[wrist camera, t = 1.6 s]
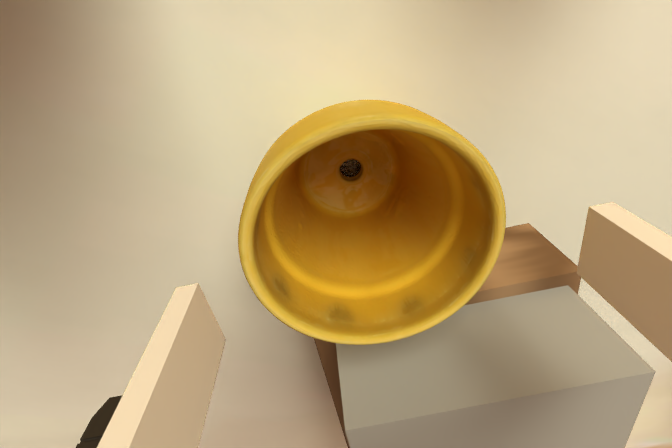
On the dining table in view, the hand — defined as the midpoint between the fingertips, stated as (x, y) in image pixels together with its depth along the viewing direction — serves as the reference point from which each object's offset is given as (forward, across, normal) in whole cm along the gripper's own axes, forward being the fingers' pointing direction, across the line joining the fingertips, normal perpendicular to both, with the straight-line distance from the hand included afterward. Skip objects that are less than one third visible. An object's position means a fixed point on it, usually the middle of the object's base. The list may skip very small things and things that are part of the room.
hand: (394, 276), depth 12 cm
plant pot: (+12, 0, 0) cm, 12 cm away
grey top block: (+6, +4, -15) cm, 16 cm away
